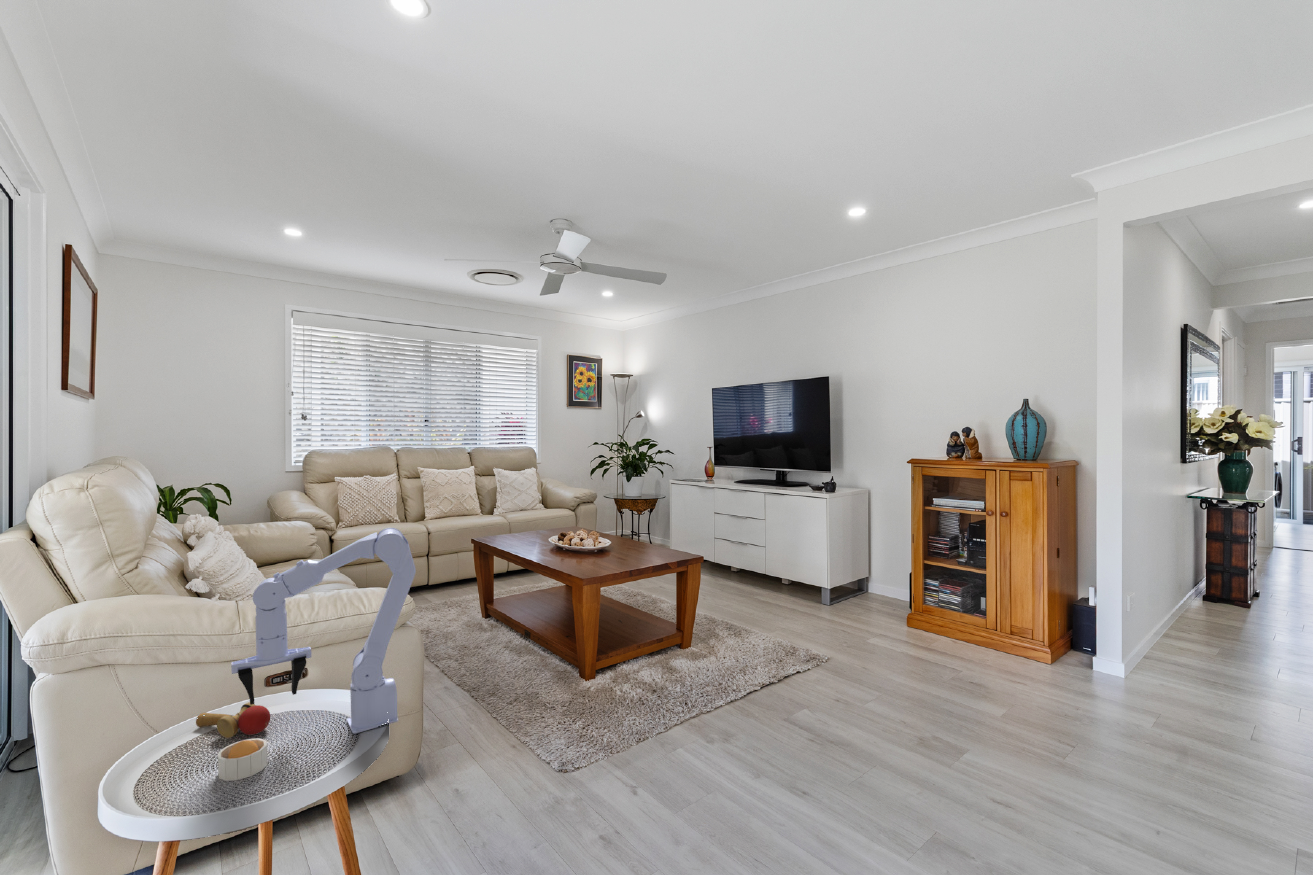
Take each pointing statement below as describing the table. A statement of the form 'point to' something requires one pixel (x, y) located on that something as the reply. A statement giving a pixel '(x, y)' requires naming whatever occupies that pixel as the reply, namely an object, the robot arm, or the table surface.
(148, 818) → the table surface
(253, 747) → the ball
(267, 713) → the kendama
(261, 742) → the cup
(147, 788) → the table surface
